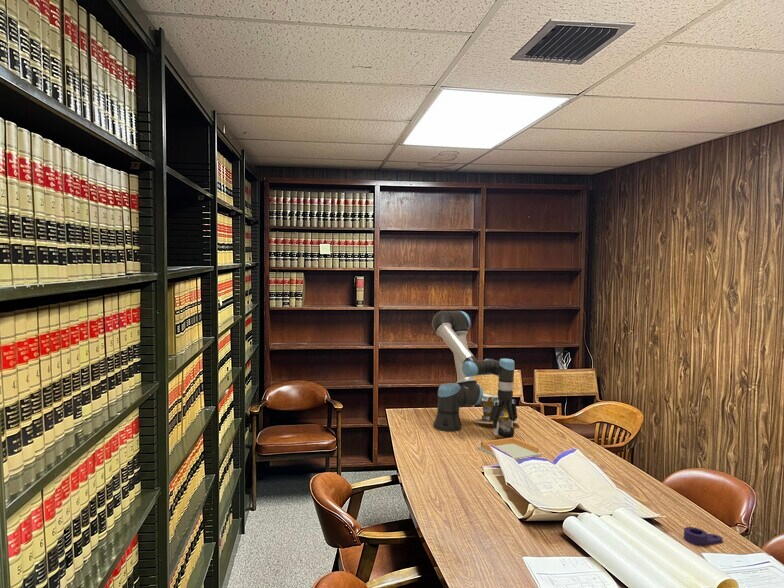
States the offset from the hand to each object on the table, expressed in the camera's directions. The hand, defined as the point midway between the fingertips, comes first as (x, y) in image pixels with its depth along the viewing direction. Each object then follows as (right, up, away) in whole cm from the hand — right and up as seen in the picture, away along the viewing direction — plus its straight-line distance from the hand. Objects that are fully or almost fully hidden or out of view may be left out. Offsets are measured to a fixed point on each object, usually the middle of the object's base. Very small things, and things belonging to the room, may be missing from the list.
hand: (502, 433), depth 266 cm
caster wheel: (+1, -1, 0) cm, 1 cm away
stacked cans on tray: (+2, -2, +29) cm, 29 cm away
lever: (+41, -7, -102) cm, 110 cm away
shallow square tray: (-2, -3, -22) cm, 22 cm away
